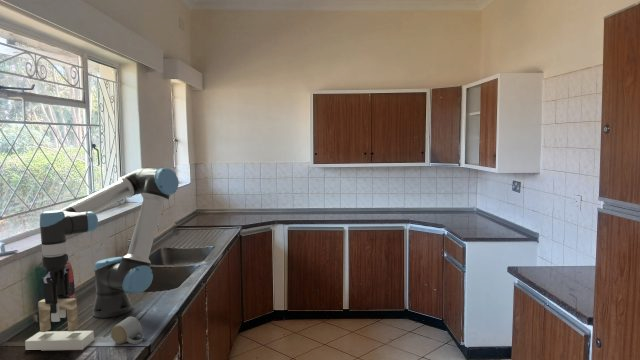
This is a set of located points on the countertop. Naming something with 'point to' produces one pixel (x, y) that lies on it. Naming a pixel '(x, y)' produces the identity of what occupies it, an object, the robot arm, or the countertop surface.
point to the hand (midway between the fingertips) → (58, 319)
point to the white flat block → (60, 340)
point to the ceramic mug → (127, 331)
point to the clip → (63, 305)
